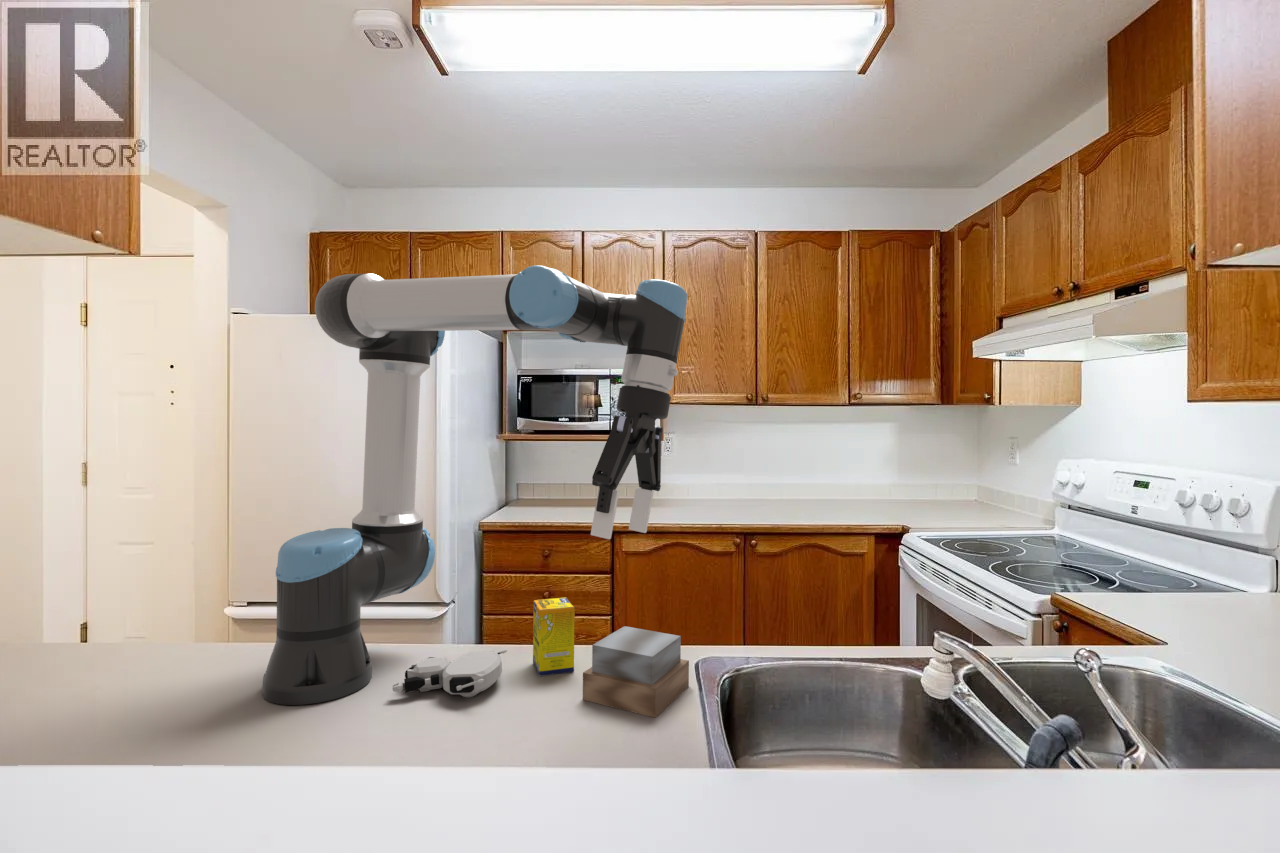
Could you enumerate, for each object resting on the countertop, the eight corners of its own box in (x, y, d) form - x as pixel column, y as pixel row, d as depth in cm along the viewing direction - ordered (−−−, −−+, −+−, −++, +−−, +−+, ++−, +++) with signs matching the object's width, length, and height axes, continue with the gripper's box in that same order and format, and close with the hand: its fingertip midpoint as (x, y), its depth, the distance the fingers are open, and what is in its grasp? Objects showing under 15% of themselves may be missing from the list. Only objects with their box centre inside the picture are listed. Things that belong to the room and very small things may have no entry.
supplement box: (532, 663, 106) (532, 599, 106) (566, 659, 108) (566, 596, 108) (538, 677, 100) (539, 609, 100) (574, 672, 102) (575, 606, 102)
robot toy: (387, 710, 90) (488, 706, 89) (385, 679, 90) (486, 675, 89) (423, 676, 102) (512, 673, 101) (421, 649, 102) (510, 645, 101)
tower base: (582, 699, 92) (583, 645, 92) (621, 671, 103) (622, 623, 103) (655, 717, 86) (655, 660, 86) (688, 686, 97) (689, 635, 97)
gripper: (639, 376, 77) (608, 546, 76) (694, 403, 100) (671, 533, 99) (585, 369, 79) (555, 533, 79) (651, 397, 103) (628, 524, 102)
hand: (620, 534), depth 89 cm, fingers open, 13 cm apart
